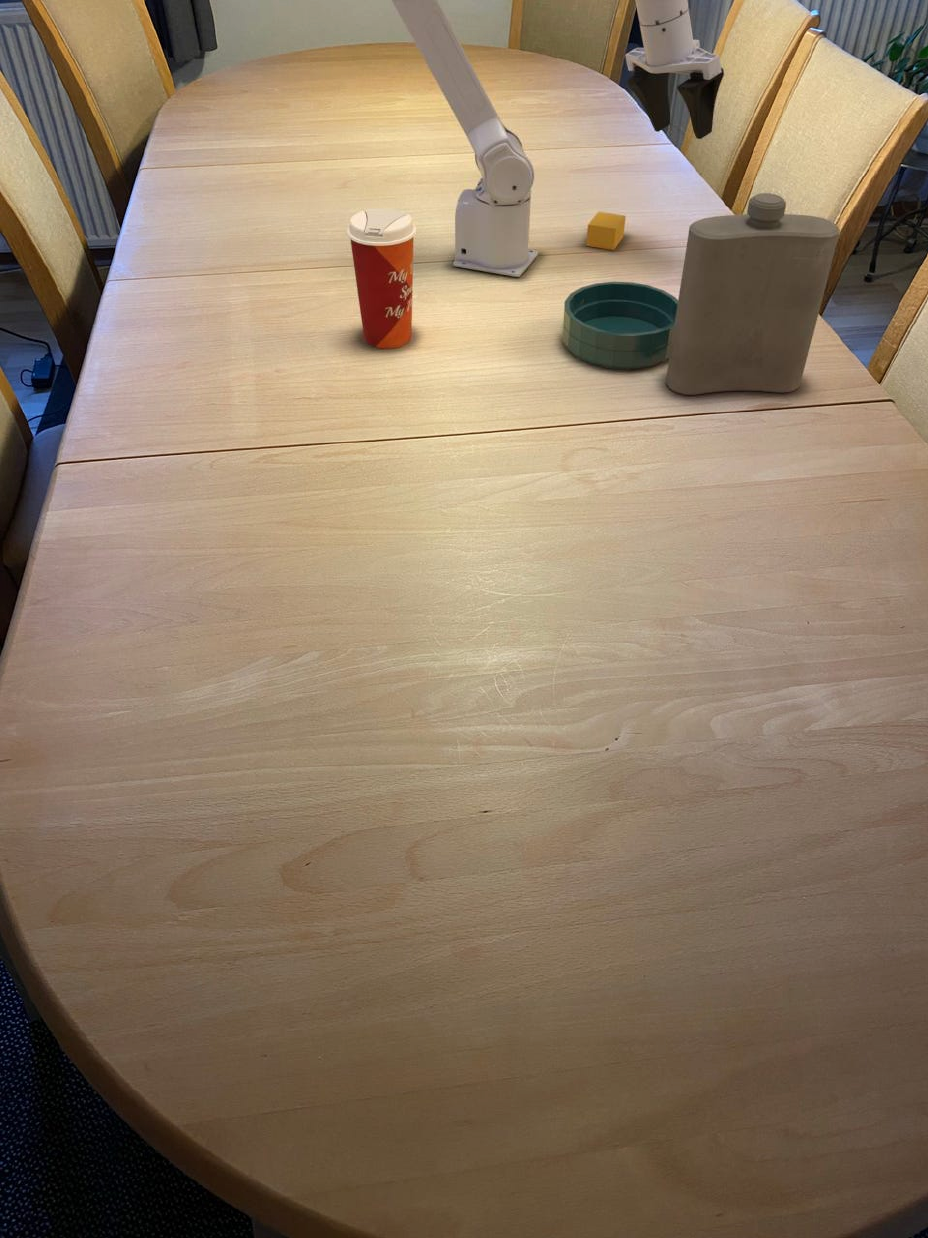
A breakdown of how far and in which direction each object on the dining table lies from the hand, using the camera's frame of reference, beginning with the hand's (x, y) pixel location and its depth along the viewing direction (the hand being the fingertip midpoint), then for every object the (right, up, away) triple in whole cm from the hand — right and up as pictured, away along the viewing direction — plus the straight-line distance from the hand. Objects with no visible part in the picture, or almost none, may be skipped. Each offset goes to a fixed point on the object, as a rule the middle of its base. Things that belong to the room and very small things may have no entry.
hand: (683, 131), depth 125 cm
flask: (+2, -35, -14) cm, 38 cm away
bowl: (-9, -29, -8) cm, 31 cm away
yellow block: (-8, -9, +14) cm, 18 cm away
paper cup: (-37, -28, -7) cm, 47 cm away
